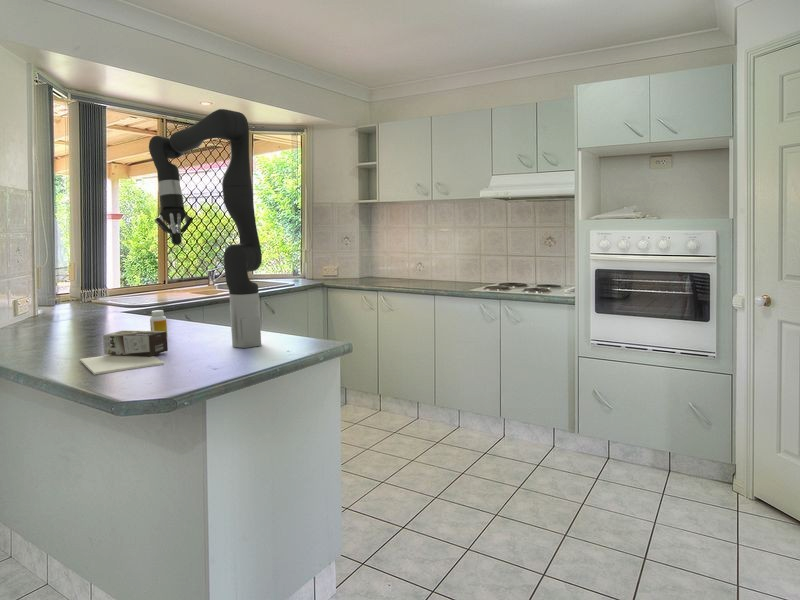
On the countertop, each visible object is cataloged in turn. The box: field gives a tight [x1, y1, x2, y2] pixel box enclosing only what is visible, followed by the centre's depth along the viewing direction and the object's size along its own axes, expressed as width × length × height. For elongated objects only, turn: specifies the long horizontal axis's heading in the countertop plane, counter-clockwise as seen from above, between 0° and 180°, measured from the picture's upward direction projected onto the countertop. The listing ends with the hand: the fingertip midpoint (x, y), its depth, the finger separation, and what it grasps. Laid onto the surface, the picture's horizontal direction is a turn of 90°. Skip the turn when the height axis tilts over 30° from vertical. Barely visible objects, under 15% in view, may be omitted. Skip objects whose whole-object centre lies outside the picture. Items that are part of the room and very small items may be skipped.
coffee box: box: [102, 330, 169, 356], centre depth 182 cm, size 9×6×16 cm
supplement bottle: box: [149, 309, 168, 335], centre depth 211 cm, size 5×5×10 cm
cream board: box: [79, 355, 165, 376], centre depth 172 cm, size 22×18×1 cm
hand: (177, 244), depth 203 cm, fingers closed
